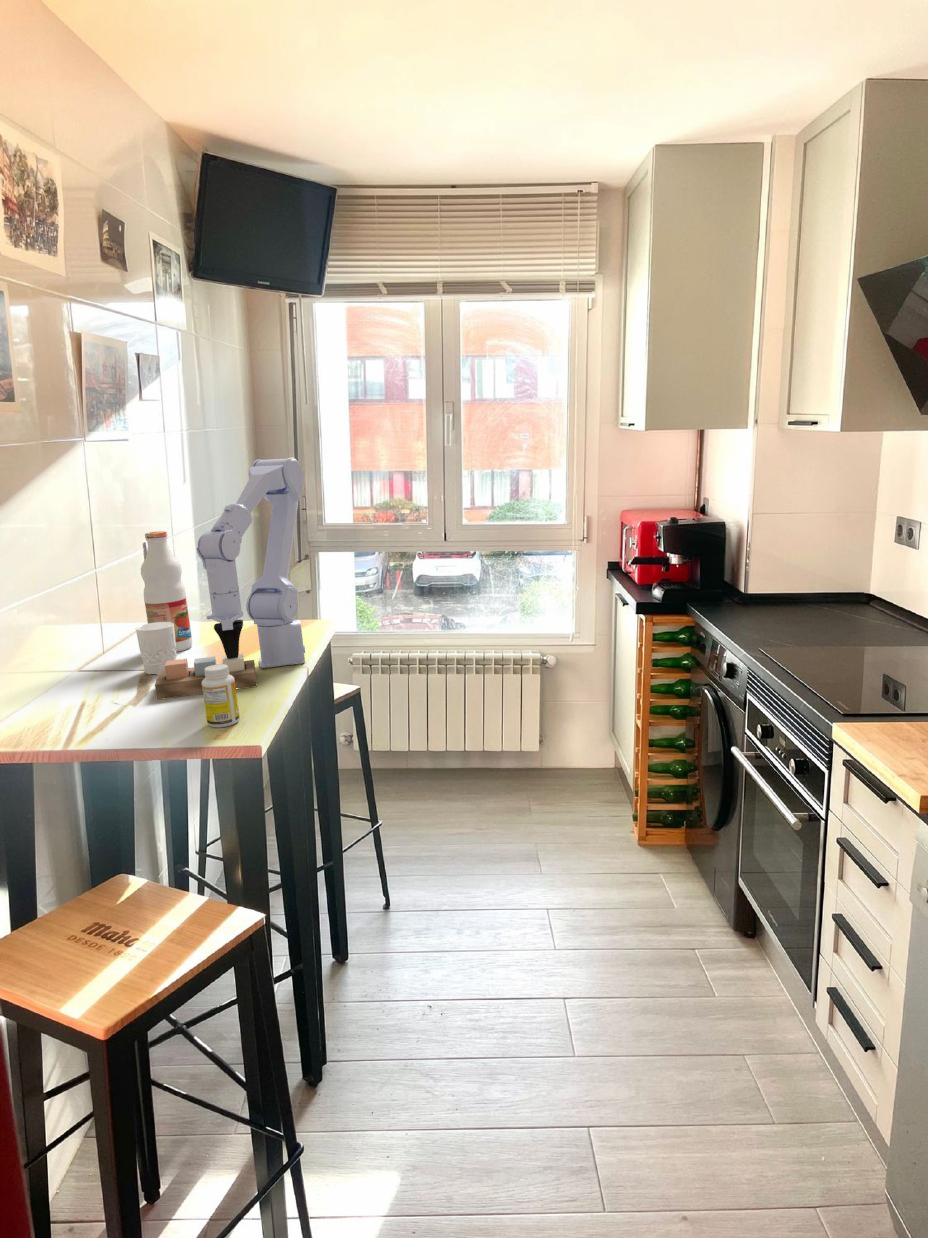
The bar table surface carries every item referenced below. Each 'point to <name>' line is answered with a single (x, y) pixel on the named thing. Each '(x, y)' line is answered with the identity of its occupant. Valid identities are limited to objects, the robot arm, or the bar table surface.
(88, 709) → the bar table surface
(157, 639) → the white cup
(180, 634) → the fruit juice
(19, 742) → the bar table surface
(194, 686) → the wooden tray
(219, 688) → the supplement bottle
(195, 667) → the light blue cube
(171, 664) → the salmon orange cube
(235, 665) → the off-white cube
